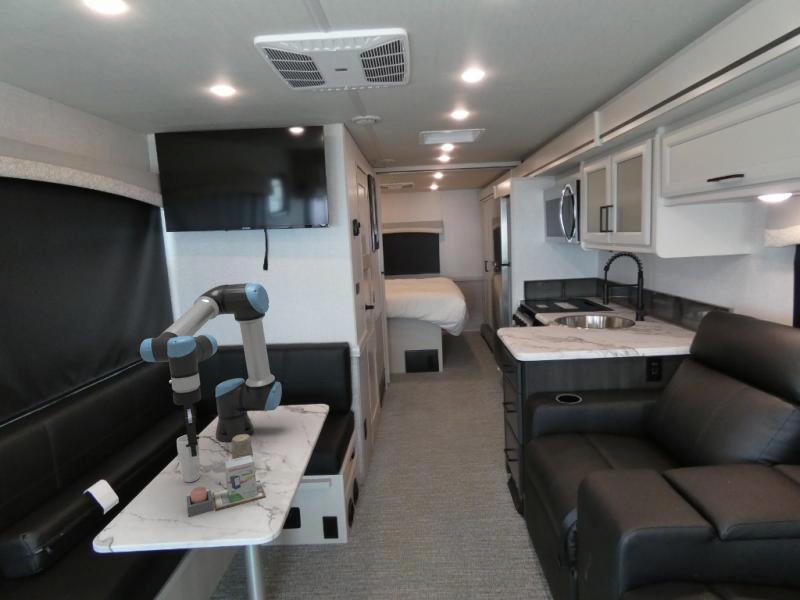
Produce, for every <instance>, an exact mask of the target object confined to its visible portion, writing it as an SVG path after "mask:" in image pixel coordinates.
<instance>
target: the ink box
mask: <svg viewBox="0 0 800 600" xmlns="http://www.w3.org/2000/svg"><path fill="white" fill-rule="evenodd" d="M255 467H256V466H255V461H254V456H253V457H252V456H245V457H241V458H237V459H232V458H231V459H229V460H226V461H224V472H225V474H224V475H225V480H226V483H225V484H226V489H227V492H228V498H229V501H230V503H231V502H235V501H238V500H242V499H245V498H248V497H252V496H255V495H258V493H257V485H256V481H257V479H256V469H255Z"/></svg>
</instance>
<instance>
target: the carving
mask: <svg viewBox="0 0 800 600" xmlns="http://www.w3.org/2000/svg"><path fill="white" fill-rule="evenodd" d="M230 446H231V447H230V448H231V460H232V459H237V458H241V457H245V456H252V457H253V458H254V453H253V447H252V439H251V435H250V436H249V435H247V434H241V435H237V436H235V437H234V438H233V439H232V441H231V444H230Z"/></svg>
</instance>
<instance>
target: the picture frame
mask: <svg viewBox="0 0 800 600" xmlns="http://www.w3.org/2000/svg"><path fill="white" fill-rule="evenodd" d="M256 485H257V493H258V495H255V496H252V497H248V498H245V499H242V500H238V501H235V502H231V503H230V501H229V498H228V492H227V488H226V489H222V490H217V491H213V492H211V495H212V501H213V504H214V505H213V507H214V510H215V512H219V511H221V510H224V509H228V508H231V507H235V506H238V505H239V506H240V505H243V504H246V503H250V502H253V501H257V500H261V499H264V498H267V496H266V493H265V490H264V487H263V484H262V482H261V480H260V479H259V480H256Z"/></svg>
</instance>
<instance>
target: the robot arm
mask: <svg viewBox="0 0 800 600" xmlns="http://www.w3.org/2000/svg"><path fill="white" fill-rule="evenodd" d="M269 303H270V301H269V295H268V292H267V290H266V289H265V287H264V286H263V285H262V284H261V283H252V282H249V283H231V284H221V285H217V286H214V287H213V288H212V287H211V288H210V289H209V290H207V291H205V292H204V293H202V294H200V296H198V297H197V298H196V299H195V301H194V302H193V305H192V306H191V307H190V308H189V309H188V310H187V311H185V312H184V313H183V314H182V315H181V316H180V317H178V318H177V320H175V321H174V322H173V323H172V324H171V325H170V326H169V327H167V328H166V329H165V330H164V331H163V332H162V333H160V335H158V336H157V337H151V338H145V339H144V340H143V341H141V344H140V348H139V353H140V357H141V359H142V360H143V361H145V362H148V363H164V362H165V363H167V362H168V365H169V370H170V380H169V381H168V383H169V384H171V389H172V390H173V392H172V398H173V403H174V404H175V405H177V406H181V407H180V408H181V415H182V416H183V424H184V425H185V427H186V435H187V437H188V439H187V440H188V444H187V445H186V447H188V450H189V458H190V467H192V466H196V465H201V458H200V448H199V449H198V441H199V440H200V436H199V435H198V434H197V428H196V423H197V421H198V420H197V406H196V404H195V403H198V402H200V400H202V391H201V387H200V386H201V381H200V372H199V367H198V366H199V365H198V364H199V363H201V362H203V361H205V360H207V359H210V358H211V357H212V356H213V355H215V353H217V352H218V351H217V350H218V346H219V345H218V341H217V339H216V338H215V336H213V335H211V334H208V333H206V334H199V335H198V336H194V335H195V334H197V332H198V331H200V330H201V329H202V327H203V326H205V325H206V324H207V322H209V320H214V319H215V318H216V317H217V316H220V315H233V317H234V321H236V322H237V323H238V324H239V327H240V333H241V339H242V345H243V346H242V347H243V351H244V357H245V363H246V370H247V375H248V377H247V379H246V380H245V379H244V378H242V377H239V378H238V377H237V378H232V379H227V380H225V381H222V382H221V383H219V384H218V385H216V386H215V400H216V408H217V418H218V420H217V425H216V427H215V433H214V434H215V439H216V441H219V442H227V443H230V442H232V439H233V438H234V437H235V436H237V435H241V434H247V435H249V436H250V437H251V436H252V435H253V433H254V431H255V430H254V425H253V423H252V421H251V419H250V417H249V414H248V412H268V411H275V410H276V409H277V408H278V407H279V405H280V403H281V399H282V392H283V391H282V389H283V388H282V384H281V382H280V381H276V379H275V378H276V377H275V376H274V375H273V373H271V369H270V363H269V362H270V361H269V356H268V351H267V349H268V348H267V343H266V338H265V336H266V335H265V330H264V323H263V319H264V318H265V316H266V313H267V312H268V311H269V307H270V305H269ZM182 406H183V407H182ZM197 439H198V441H197Z"/></svg>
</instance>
